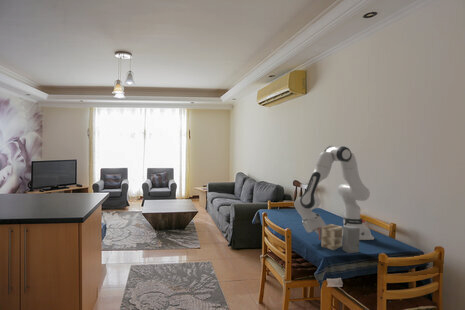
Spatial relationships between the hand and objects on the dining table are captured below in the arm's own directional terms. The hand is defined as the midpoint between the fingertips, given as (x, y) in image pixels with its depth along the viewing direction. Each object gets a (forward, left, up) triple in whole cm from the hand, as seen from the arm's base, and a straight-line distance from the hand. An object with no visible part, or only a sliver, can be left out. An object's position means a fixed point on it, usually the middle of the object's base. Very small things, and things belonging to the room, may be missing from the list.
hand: (321, 235), depth 209 cm
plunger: (-3, +3, -2) cm, 4 cm away
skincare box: (-15, +13, -6) cm, 21 cm away
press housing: (-6, +6, -6) cm, 10 cm away
